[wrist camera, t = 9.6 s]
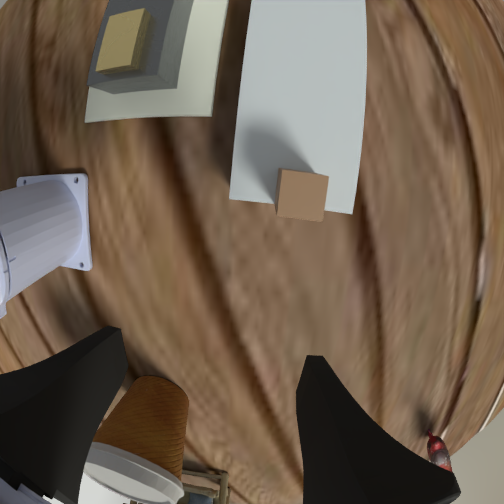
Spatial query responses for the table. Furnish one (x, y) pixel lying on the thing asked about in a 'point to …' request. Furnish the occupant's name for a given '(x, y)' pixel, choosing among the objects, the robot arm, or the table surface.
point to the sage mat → (189, 81)
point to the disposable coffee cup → (142, 443)
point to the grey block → (140, 45)
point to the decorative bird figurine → (438, 452)
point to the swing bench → (203, 491)
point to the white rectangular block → (301, 107)
